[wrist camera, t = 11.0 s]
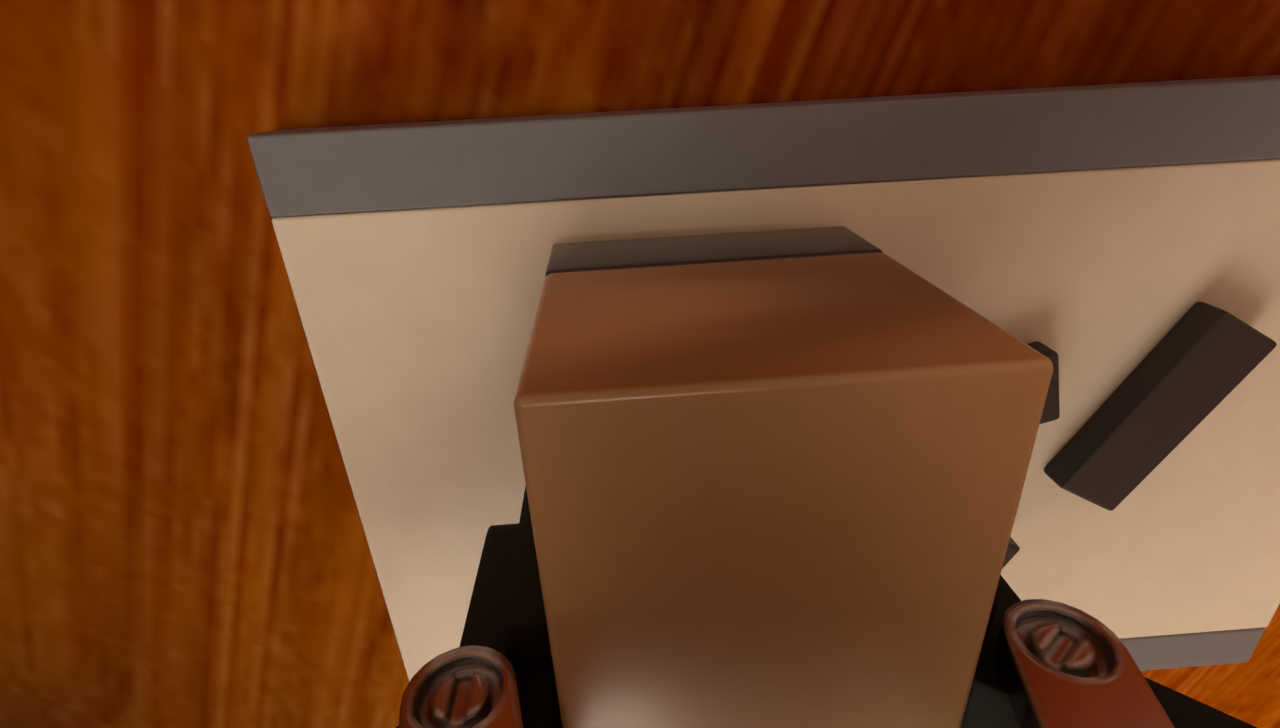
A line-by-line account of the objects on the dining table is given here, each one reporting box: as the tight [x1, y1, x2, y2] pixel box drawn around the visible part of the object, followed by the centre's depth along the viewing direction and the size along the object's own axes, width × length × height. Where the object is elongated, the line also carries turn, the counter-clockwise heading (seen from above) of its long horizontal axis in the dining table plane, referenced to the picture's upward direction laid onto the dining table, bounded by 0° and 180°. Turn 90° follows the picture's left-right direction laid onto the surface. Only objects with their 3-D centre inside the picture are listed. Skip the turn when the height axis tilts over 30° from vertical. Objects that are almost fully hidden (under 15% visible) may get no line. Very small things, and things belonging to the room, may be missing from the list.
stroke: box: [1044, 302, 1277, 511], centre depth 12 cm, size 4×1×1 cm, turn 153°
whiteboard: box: [247, 75, 1280, 682], centre depth 13 cm, size 20×13×1 cm, turn 93°
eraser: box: [514, 226, 1053, 728], centre depth 9 cm, size 4×10×5 cm, turn 3°
